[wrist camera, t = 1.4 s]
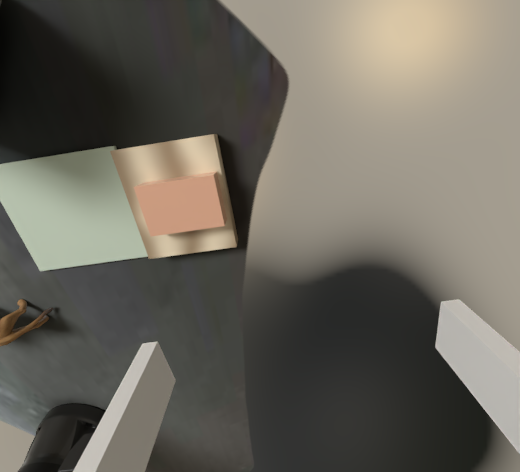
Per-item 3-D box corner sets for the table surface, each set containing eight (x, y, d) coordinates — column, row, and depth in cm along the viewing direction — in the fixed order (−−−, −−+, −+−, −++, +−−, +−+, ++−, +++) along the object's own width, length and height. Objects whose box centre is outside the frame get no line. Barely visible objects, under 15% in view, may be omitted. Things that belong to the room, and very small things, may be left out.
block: (158, 229, 32) (150, 236, 30) (142, 182, 30) (133, 187, 28) (227, 219, 32) (224, 226, 30) (217, 171, 30) (213, 174, 27)
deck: (156, 250, 36) (149, 258, 34) (120, 149, 31) (109, 150, 29) (238, 239, 36) (236, 247, 33) (217, 133, 30) (213, 134, 28)
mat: (42, 269, 37) (40, 271, 37) (-15, 166, 32) (-19, 167, 31) (153, 254, 37) (152, 255, 36) (115, 145, 31) (113, 145, 30)
